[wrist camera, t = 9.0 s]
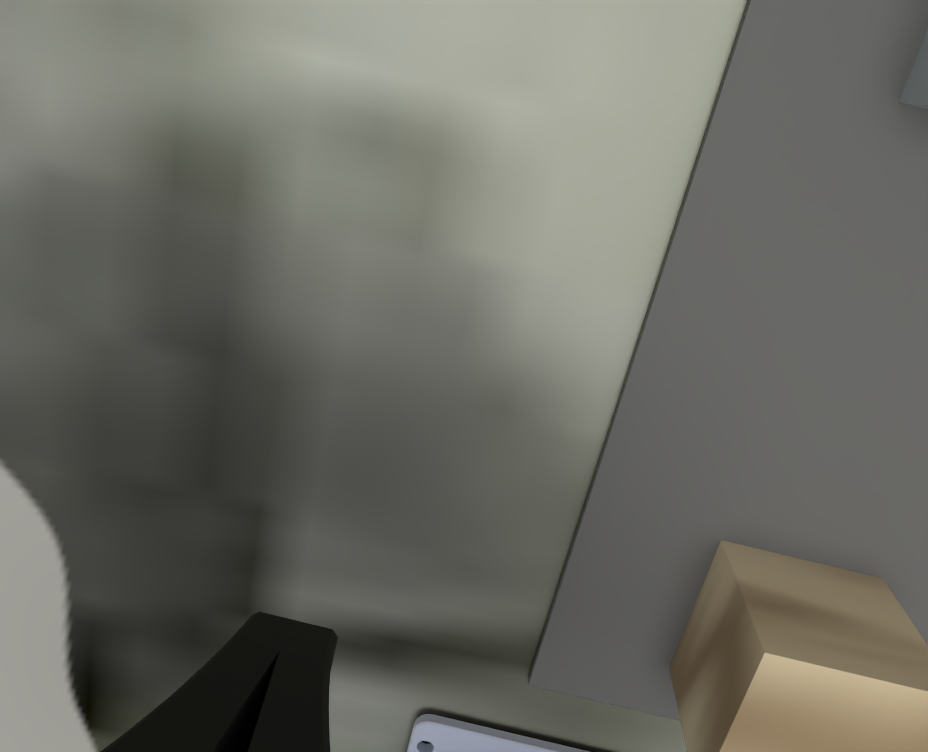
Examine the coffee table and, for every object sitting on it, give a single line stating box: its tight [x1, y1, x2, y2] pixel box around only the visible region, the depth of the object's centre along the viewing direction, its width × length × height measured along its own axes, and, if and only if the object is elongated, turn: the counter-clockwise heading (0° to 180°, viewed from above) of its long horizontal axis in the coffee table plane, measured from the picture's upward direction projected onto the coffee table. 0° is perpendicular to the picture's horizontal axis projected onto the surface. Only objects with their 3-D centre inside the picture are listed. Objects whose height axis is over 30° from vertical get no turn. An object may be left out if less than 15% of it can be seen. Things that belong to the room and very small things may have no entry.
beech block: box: [669, 540, 928, 752], centre depth 21 cm, size 4×4×4 cm
